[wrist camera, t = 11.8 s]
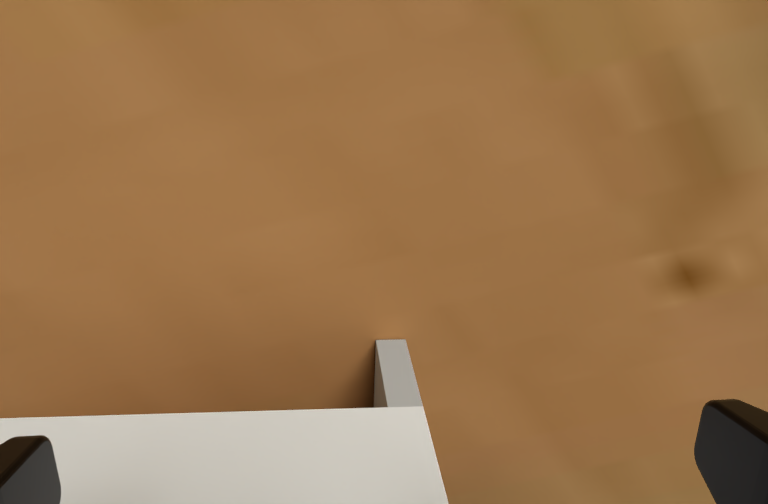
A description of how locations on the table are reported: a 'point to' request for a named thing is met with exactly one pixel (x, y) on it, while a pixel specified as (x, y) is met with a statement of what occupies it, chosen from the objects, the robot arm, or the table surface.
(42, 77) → the table surface
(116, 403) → the table surface
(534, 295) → the table surface
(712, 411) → the robot arm
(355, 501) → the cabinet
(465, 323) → the table surface
